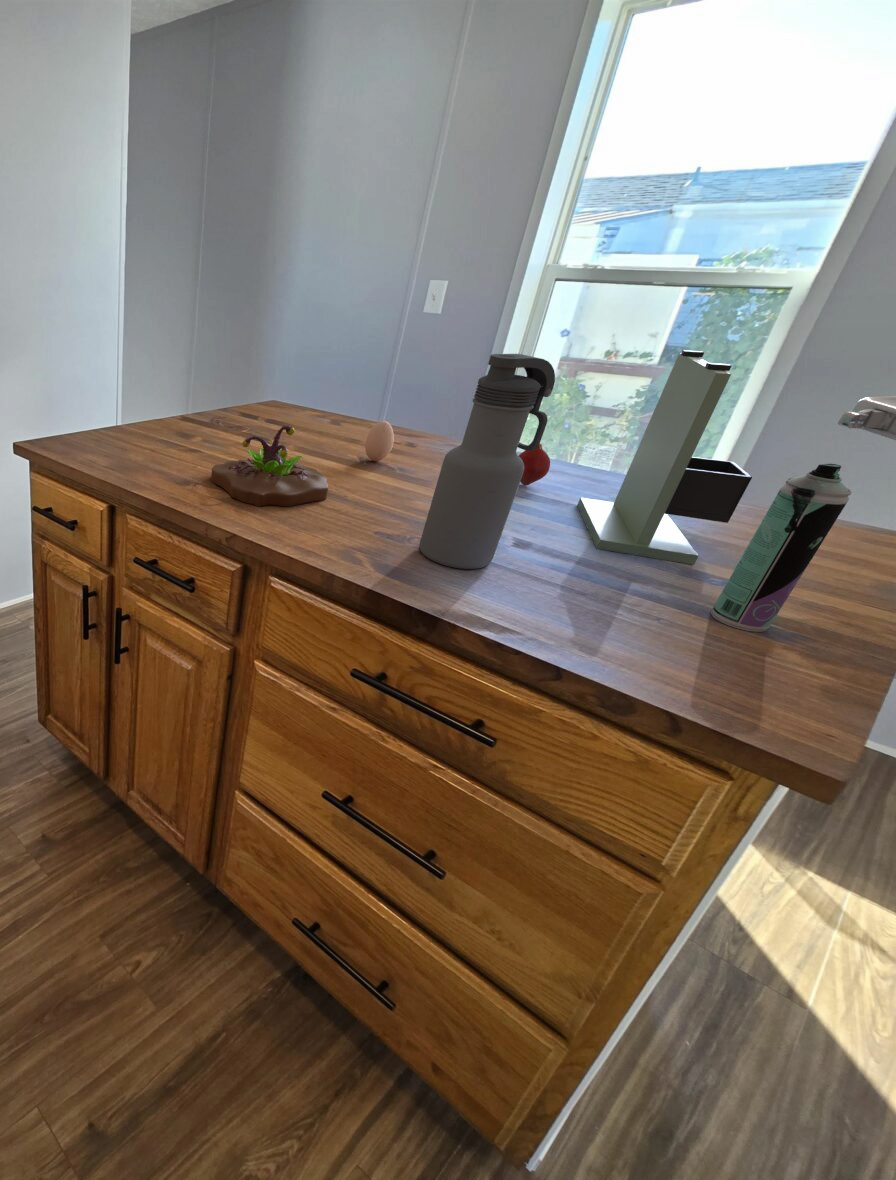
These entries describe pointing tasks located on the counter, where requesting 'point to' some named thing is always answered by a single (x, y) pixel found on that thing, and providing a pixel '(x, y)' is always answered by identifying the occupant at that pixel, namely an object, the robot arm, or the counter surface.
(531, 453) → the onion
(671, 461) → the white stand
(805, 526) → the spray can
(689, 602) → the counter surface
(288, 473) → the plant
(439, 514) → the water bottle
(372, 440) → the egg
